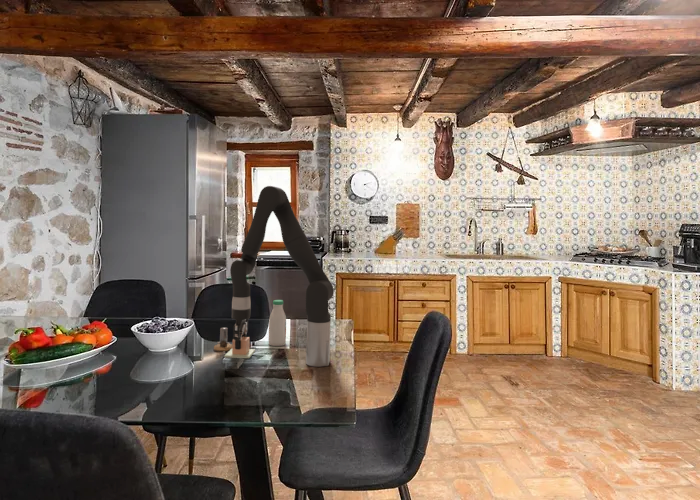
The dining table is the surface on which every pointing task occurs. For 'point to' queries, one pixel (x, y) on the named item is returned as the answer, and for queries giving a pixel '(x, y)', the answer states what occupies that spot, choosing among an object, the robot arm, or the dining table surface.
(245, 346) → the salmon orange cube
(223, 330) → the post
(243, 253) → the robot arm
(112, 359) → the dining table surface
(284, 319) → the milk bottle
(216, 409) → the dining table surface
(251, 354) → the pad
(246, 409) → the dining table surface
